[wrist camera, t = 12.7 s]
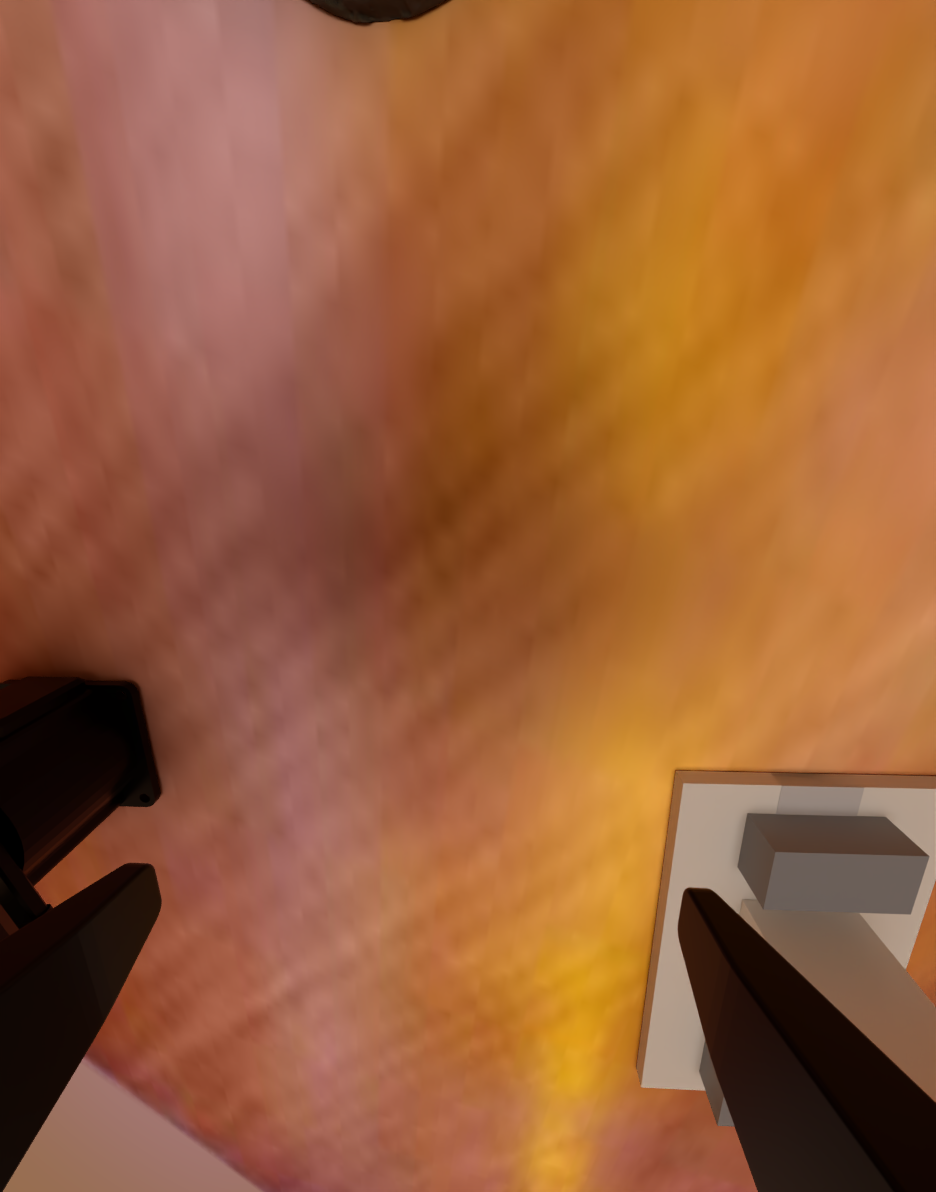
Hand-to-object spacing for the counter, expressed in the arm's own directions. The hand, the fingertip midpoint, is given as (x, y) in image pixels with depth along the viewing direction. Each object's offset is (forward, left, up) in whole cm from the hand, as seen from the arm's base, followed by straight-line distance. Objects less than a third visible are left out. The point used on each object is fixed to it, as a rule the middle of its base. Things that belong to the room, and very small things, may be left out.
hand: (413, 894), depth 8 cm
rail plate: (-17, -16, -13) cm, 27 cm away
